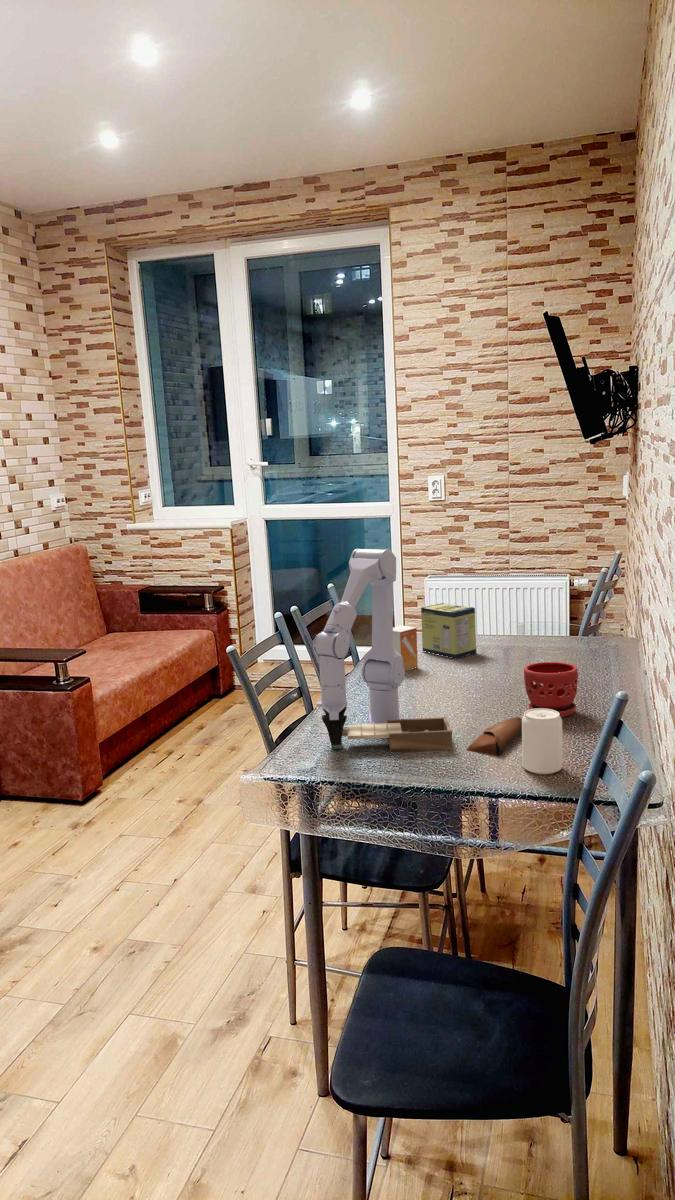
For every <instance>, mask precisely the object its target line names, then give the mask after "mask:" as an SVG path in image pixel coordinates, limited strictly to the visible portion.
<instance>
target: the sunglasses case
mask: <svg viewBox="0 0 675 1200" xmlns="http://www.w3.org/2000/svg"><path fill="white" fill-rule="evenodd" d="M482 732H483V733H481V734H480V735H479V736H478V737H477V738H476V739H474V740H473V741H472V743H471V744H469V745H468V747H467V748H466V751H467V752H473V753H478V754H486V755H491V756H496V757H499V756H500V755H501V754H503V752H504V751H505V750H506V749H507V748H508V746H510V745H511V743H512V742H513V741H514V740H515V739H516V738H517V737H519V735H520V734H522V717H519V716H517V717H511V718H506V719H504V720H502V721H499V722H498V723H495V724H493V725H491V726H489V727H487V728H485V729H484V730H483V731H482Z"/></svg>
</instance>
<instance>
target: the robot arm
mask: <svg viewBox="0 0 675 1200" xmlns="http://www.w3.org/2000/svg"><path fill="white" fill-rule="evenodd" d="M348 568H349V572H350V573H349V578H347V579H348V580H347V583H346V585H345V589H344V592H343V594H342V598H341V600H340V602H338V603H335V604H334V606H333V608H332V609H331V610H332V611H331V612H330V614H329V616H328V619H327V621H326V624H325V626H324V628H323V630H322V631H321V632H320V633H318V634H316V636H315V638H314V641H313V645H312V649H313V654H315V656H316V662H317V664H318V665H319V680H320V696H321V700H320V701H316V707H319V708H322V710H323V712H324V714H322V715H321V720H322V722H323V724H324V726H325V727H326V730H327V733H328V737H329V741H330V745H341V740H342V741H343V739H342V738H343V736H342V731H343V729H344V726H345V723H346V721H347V719H348V715H346V714H345V713H346V711H347V707H348V700H347V687H346V686H347V685H346V683H347V682H346V667H345V657H346V655H347V654H348V652H349V649H350V639H351V634H350V633H351V630H352V628H353V626H354V623H355V621H356V619H357V615H358V614H357V610H356V606H357V604H358V603H359V600H360V599H361V597H362V595H363V593H364V592H365V589H366V587H367V586H368V584H370V586H372V587H371V591H372V592H371V593H372V595H371V602H372V603H371V649H369V650H368V651H367V652H366V653H365V654H364V655H363V661H362V665H361V673H360V674H361V678H362V680H363V682H364V683H365V684H366V687H367V688H369V690H368V691H369V706H370V707H369V709H370V711H369V712H368V721H369V724H373V723H374V724H382V723H387V720H398V719H402V717H401V712H400V705H399V704H400V703H399V687H400V686H401V685H402V684H403V682H404V680H405V675H406V671H405V669H404V666H403V657H402V656H401V655H400V654H399V653H398V652H397V651H396V650H394V649H393V628H394V582H396V580H397V557H396V555H395V554H394V552H393V551H392V550H391V549H390V548H389V549H388V548H385V549H375V548H374V549H373V548H372V549H371V548H368V549H367V548H363V549H362V548H355V549H354V550H352V552H351V554H350V558H349V560H348Z"/></svg>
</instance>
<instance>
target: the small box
mask: <svg viewBox="0 0 675 1200" xmlns="http://www.w3.org/2000/svg"><path fill="white" fill-rule="evenodd" d="M417 629H418V628H417V627H416V626H415V627H414V626H409V625H403V624H402V625H399V626H395V627H394V626H393V649H394V650H396V651H397V652H398V653H399V654H400V655H401V656H402V657H403V666H404V669H405V670H408V671H410V670H409V669H411V670H413V669H412V668H414V669H416V668H415V667H417V668H418V666H419V665H418V632H417Z"/></svg>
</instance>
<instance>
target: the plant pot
mask: <svg viewBox="0 0 675 1200" xmlns="http://www.w3.org/2000/svg"><path fill="white" fill-rule="evenodd" d="M578 670H579V669H578V667H577V666H576V665H575V664H572V663H567V662H562V661H561V662H559V661H543V662H542V661H541V662H535V663H531V664H528V665H525V667H524V668H523V679H524V686H525V687H524V689H525V692H526V695H527V698H528V700H529V701H530V703H529V704H528V710H530V709H535V708H546V709H552V710H555V711H557V712H559V713H560V717H561V718H564V717H568V716H570V715H572V714H573V713H574V712H575V711H576V709H577V705H576V703H574V700H575V698H576V696H577V693H578V681H579V680H578V679H579V671H578Z"/></svg>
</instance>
